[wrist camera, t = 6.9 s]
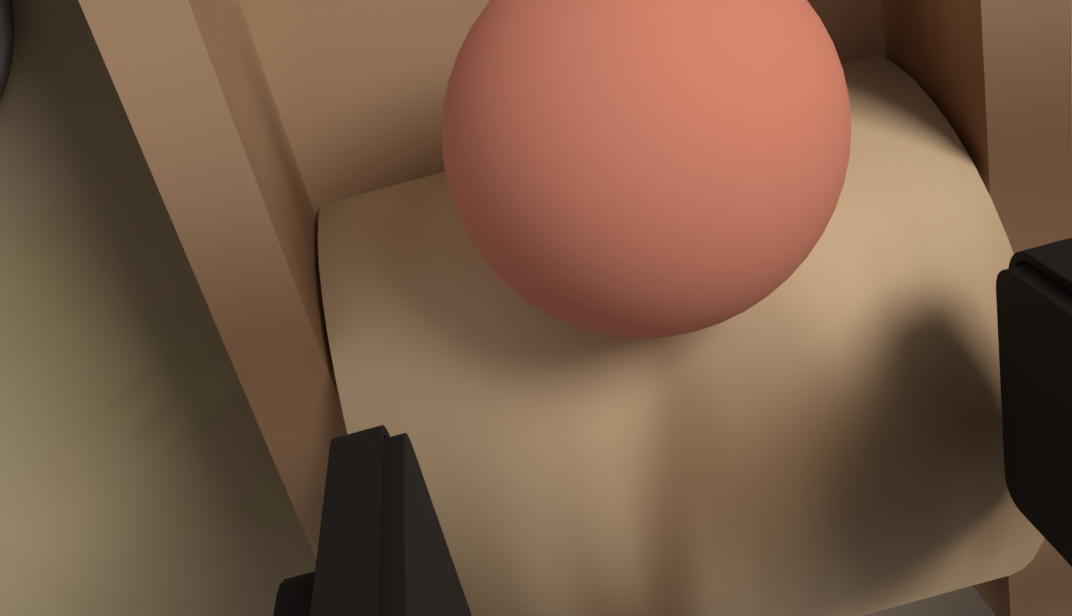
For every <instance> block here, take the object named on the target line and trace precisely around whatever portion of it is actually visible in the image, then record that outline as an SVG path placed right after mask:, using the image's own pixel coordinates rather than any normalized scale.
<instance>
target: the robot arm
mask: <svg viewBox="0 0 1072 616" xmlns="http://www.w3.org/2000/svg"><path fill="white" fill-rule="evenodd" d="M996 301H997V322H998V343H999V364H1000V385H1001V406H1002V427H1003V448H1004V469H1005V480H1006V484H1007V488H1008V491H1009V493H1010V496H1011V498H1012V500H1013V502H1014V503H1015V505H1016V506H1017V508H1018V509H1019V510H1020V512H1021V513H1022V514H1023V515H1024V516H1025V517H1026V518H1027V519H1028V520H1029V521H1030V522H1031V524H1032V525H1033V526H1034V527H1035V528H1036V529H1037V530H1038V531H1039V532H1040V533H1041V534H1042V535H1043V537H1044V538H1045V539H1046V540H1047V541H1048V542H1049V543H1050V544H1051V545H1052V546H1053V547H1054V548H1055V549H1056V551H1057V552H1058V553H1059V554H1060V555H1061V556H1062V557H1063V558H1064V559H1065V560H1066V561H1067V562H1068V564H1069V565H1070V566H1071V567H1072V238H1069V239H1064V240H1060V241H1056V242H1053V243H1049V244H1045V245H1042V246H1038V247H1034V248H1030V249H1027V250H1023V251H1019V252H1016V253H1015V254H1014V255H1013V256H1012V257H1011V260H1010V263H1009V268H1008V269H1005V270H1001V271H1000V272H999V273H998V276H997V279H996ZM273 616H472V615H471V612H470V609H469V606H468V603H467V600H466V597H465V595H464V592H463V589H462V586H461V583H460V580H459V577H458V575H457V572H456V569H455V566H454V563H453V560H452V557H451V554H450V552H449V549H448V546H447V543H446V540H445V537H444V534H443V532H442V529H441V526H440V523H439V520H438V517H437V514H436V512H435V509H434V506H433V503H432V500H431V497H430V494H429V492H428V489H427V486H426V483H425V480H424V477H423V474H422V472H421V469H420V466H419V463H418V460H417V457H416V454H415V451H414V449H413V446H412V443H411V441H410V438H409V436H408V435H407V433H402V434H399V435H395V436H391V437H390V435H389V432H388V431H387V429H386V427H385V426H384V425H380V426H376V427H373V428H369V429H365V430H362V431H358V432H354V433H351V434H347V435H343V436H340V437H336V438H333V439H331V443H330V449H329V458H328V466H327V475H326V483H325V492H324V500H323V509H322V517H321V525H320V534H319V542H318V551H317V559H316V568H315V571H314V572H310V573H307V574H303V575H300V576H296V577H292V578H289V579H285V580H284V581H283V582H282V583H281V584H280V586H279V589H278V593H277V597H276V603H275V609H274V615H273Z"/></svg>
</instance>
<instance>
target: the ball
mask: <svg viewBox="0 0 1072 616" xmlns="http://www.w3.org/2000/svg"><path fill="white" fill-rule="evenodd" d="M441 135H442V149H443V162H444V168H445V173H446V178H447V183H448V188H449V192H450V195H451V198H452V201H453V204H454V206H455V209H456V212H457V215H458V217H459V219H460V221H461V223H462V225H463V227H464V229H465V231H466V233H467V235H468V237H469V239H470V241H471V242H472V244H473V245H474V247H475V248H476V250H477V251H478V253H479V254H480V256H481V257H482V258H483V260H484V261H485V262H486V264H487V265H488V266H489V267H490V268H491V269H492V270H493V271H494V273H495V274H496V275H497V276H498V277H499V278H500V279H501V280H502V281H503V282H504V283H505V284H506V285H507V286H508V287H510V288H511V289H512V290H513V291H514V292H515V293H517V294H518V295H519V296H520V297H521V298H523V299H524V300H526V301H527V302H529V303H530V304H532V305H533V306H535V307H536V308H538V309H539V310H541V311H542V312H544V313H546V314H548V315H550V316H552V317H554V318H556V319H558V320H561V321H563V322H565V323H567V324H570V325H573V326H576V327H579V328H582V329H585V330H588V331H591V332H595V333H600V334H605V335H611V336H616V337H628V338H657V337H671V336H676V335H681V334H686V333H690V332H695V331H698V330H701V329H705V328H708V327H711V326H714V325H717V324H720V323H722V322H724V321H726V320H728V319H730V318H732V317H734V316H736V315H738V314H740V313H743V312H745V311H746V310H748V309H749V308H751V307H752V306H754V305H755V304H757V303H758V302H760V301H761V300H763V299H764V298H766V297H767V296H769V295H770V294H771V293H772V292H773V291H774V290H776V289H777V288H778V287H779V286H780V285H781V284H783V283H784V282H785V281H786V280H787V279H788V278H789V277H790V276H791V275H792V274H793V273H794V272H795V271H796V269H797V268H798V267H799V266H800V265H801V264H802V263H803V262H804V260H805V259H806V258H807V257H808V255H809V254H810V252H811V251H812V250H813V248H814V247H815V245H816V244H817V242H818V241H819V239H820V238H821V236H822V235H823V233H824V231H825V229H826V227H827V225H828V223H829V221H830V219H831V217H832V215H833V213H834V211H835V209H836V206H837V203H838V200H839V197H840V194H841V191H842V188H843V185H844V182H845V177H846V172H847V167H848V162H849V157H850V144H851V115H850V101H849V95H848V90H847V86H846V81H845V76H844V71H843V68H842V65H841V62H840V60H839V57H838V54H837V51H836V49H835V46H834V43H833V41H832V39H831V37H830V36H829V34H828V32H827V30H826V28H825V26H824V24H823V22H822V21H821V19H820V17H819V16H818V15H817V13H816V12H815V11H814V9H813V8H812V6H811V5H810V4H809V2H808V1H807V0H490V1H489V2H488V4H487V5H486V7H485V8H484V10H483V11H482V12H481V14H480V15H479V17H478V18H477V20H476V21H475V22H474V24H473V25H472V27H471V28H470V30H469V32H468V34H467V36H466V38H465V40H464V42H463V44H462V46H461V48H460V50H459V52H458V55H457V58H456V61H455V64H454V67H453V70H452V73H451V75H450V78H449V81H448V86H447V91H446V96H445V101H444V106H443V117H442V133H441Z"/></svg>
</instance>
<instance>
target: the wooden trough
mask: <svg viewBox="0 0 1072 616" xmlns="http://www.w3.org/2000/svg"><path fill="white" fill-rule="evenodd" d="M78 1H79V3H80V6H81V8H82V10H83V13H84V15H85V17H86V20H87V22H88V24H89V27H90V29H91V32H92V34H93V36H94V39H95V41H96V43H97V46H98V48H99V50H100V53H101V55H102V57H103V60H104V62H105V65H106V67H107V69H108V72H109V74H110V76H111V79H112V81H113V83H114V86H115V88H116V91H117V93H118V95H119V98H120V100H121V102H122V105H123V107H124V109H125V112H126V114H127V116H128V119H129V121H130V124H131V126H132V128H133V131H134V133H135V135H136V138H137V140H138V142H139V145H140V147H141V150H142V152H143V154H144V157H145V159H146V161H147V164H148V166H149V168H150V171H151V173H152V175H153V178H154V180H155V183H156V185H157V187H158V190H159V192H160V194H161V197H162V199H163V201H164V204H165V206H166V209H167V211H168V213H169V216H170V218H171V220H172V223H173V225H174V227H175V230H176V232H177V234H178V237H179V239H180V242H181V244H182V246H183V249H184V251H185V253H186V256H187V258H188V260H189V263H190V265H191V268H192V270H193V272H194V275H195V277H196V279H197V282H198V284H199V286H200V289H201V291H202V293H203V296H204V298H205V301H206V303H207V305H208V308H209V310H210V312H211V315H212V317H213V319H214V322H215V324H216V327H217V329H218V331H219V334H220V336H221V338H222V341H223V343H224V345H225V348H226V350H227V352H228V355H229V357H230V360H231V362H232V364H233V367H234V369H235V371H236V374H237V376H238V378H239V381H240V383H241V386H242V388H243V390H244V393H245V395H246V397H247V400H248V402H249V404H250V407H251V409H252V411H253V414H254V416H255V419H256V421H257V423H258V426H259V428H260V430H261V433H262V435H263V437H264V440H265V442H266V445H267V447H268V449H269V452H270V454H271V456H272V459H273V461H274V463H275V466H276V468H277V470H278V473H279V475H280V478H281V480H282V482H283V485H284V487H285V489H286V492H287V494H288V496H289V499H290V501H291V504H292V506H293V508H294V511H295V513H296V515H297V518H298V520H299V522H300V525H301V527H302V529H303V532H304V534H305V537H306V539H307V541H308V544H309V546H310V548H311V551H312V553H313V555H314V558H315V560H316V559H317V551H318V542H319V534H320V525H321V517H322V509H323V500H324V492H325V483H326V475H327V466H328V458H329V449H330V443H331V439H333V438H336V437H340V436H343V435H347V434H351V433H354V432H358V431H362V430H365V429H369V428H373V427H376V426H380V425H384V426H385V427H386V429H387V431H388V432H389V435H390V437H391V436H395V435H399V434H402V433H407V435H408V436H409V438H410V441H411V443H412V446H413V449H414V451H415V454H416V457H417V460H418V463H419V466H420V469H421V472H422V474H423V477H424V480H425V483H426V486H427V489H428V492H429V494H430V497H431V500H432V503H433V506H434V509H435V512H436V514H437V517H438V520H439V523H440V526H441V529H442V532H443V534H444V537H445V540H446V543H447V546H448V549H449V552H450V554H451V557H452V560H453V563H454V566H455V569H456V572H457V575H458V577H459V580H460V583H461V586H462V589H463V592H464V595H465V597H466V600H467V603H468V606H469V609H470V612H471V615H472V616H864V615H867V614H871V613H875V612H878V611H882V610H886V609H889V608H893V607H897V606H900V605H904V604H908V603H911V602H915V601H918V600H922V599H926V598H929V597H933V596H937V595H940V594H944V593H948V592H951V591H955V590H958V589H962V588H966V587H969V586H974V587H975V588H976V590H977V591H978V592H979V594H980V595H981V596H982V597H983V599H984V600H985V601H986V603H987V604H988V605H989V607H990V608H991V609H992V610H993V612H994V613H995V614H996V616H1072V567H1071V566H1070V565H1069V564H1068V562H1067V561H1066V560H1065V559H1064V558H1063V557H1062V556H1061V555H1060V554H1059V553H1058V552H1057V551H1056V549H1055V548H1054V547H1053V546H1052V545H1051V544H1050V543H1049V542H1048V541H1047V540H1046V539H1045V538H1044V537H1043V535H1042V534H1041V533H1040V532H1039V531H1038V530H1037V529H1036V528H1035V527H1034V526H1033V525H1032V524H1031V522H1030V521H1029V520H1028V519H1027V518H1026V517H1025V516H1024V515H1023V514H1022V513H1021V512H1020V510H1019V509H1018V508H1017V506H1016V505H1015V503H1014V502H1013V500H1012V498H1011V496H1010V493H1009V491H1008V488H1007V484H1006V480H1005V469H1004V448H1003V427H1002V406H1001V385H1000V364H999V343H998V322H997V301H996V279H997V276H998V273H999V272H1000V271H1001V270H1005V269H1008V268H1009V263H1010V260H1011V257H1012V256H1013V255H1014V254H1015V253H1016V252H1019V251H1023V250H1027V249H1030V248H1034V247H1038V246H1042V245H1045V244H1049V243H1053V242H1056V241H1060V240H1064V239H1069V238H1072V106H1071V15H1070V0H807V1H808V2H809V4H810V5H811V6H812V8H813V9H814V11H815V12H816V13H817V15H818V16H819V17H820V19H821V21H822V22H823V24H824V26H825V28H826V30H827V32H828V34H829V36H830V37H831V39H832V41H833V43H834V46H835V49H836V51H837V54H838V57H839V60H840V62H841V65H842V68H843V71H844V76H845V81H846V86H847V90H848V95H849V101H850V115H851V144H850V157H849V162H848V167H847V172H846V177H845V182H844V185H843V188H842V191H841V194H840V197H839V200H838V203H837V206H836V209H835V211H834V213H833V215H832V217H831V219H830V221H829V223H828V225H827V227H826V229H825V231H824V233H823V235H822V236H821V238H820V239H819V241H818V242H817V244H816V245H815V247H814V248H813V250H812V251H811V252H810V254H809V255H808V257H807V258H806V259H805V260H804V262H803V263H802V264H801V265H800V266H799V267H798V268H797V269H796V271H795V272H794V273H793V274H792V275H791V276H790V277H789V278H788V279H787V280H786V281H785V282H784V283H783V284H781V285H780V286H779V287H778V288H777V289H776V290H774V291H773V292H772V293H771V294H770V295H769V296H767V297H766V298H764V299H763V300H761V301H760V302H758V303H757V304H755V305H754V306H752V307H751V308H749V309H748V310H746V311H745V312H743V313H740V314H738V315H736V316H734V317H732V318H730V319H728V320H726V321H724V322H722V323H720V324H717V325H714V326H711V327H708V328H705V329H701V330H698V331H695V332H690V333H686V334H681V335H676V336H671V337H657V338H628V337H616V336H611V335H605V334H600V333H595V332H591V331H588V330H585V329H582V328H579V327H576V326H573V325H570V324H567V323H565V322H563V321H561V320H558V319H556V318H554V317H552V316H550V315H548V314H546V313H544V312H542V311H541V310H539V309H538V308H536V307H535V306H533V305H532V304H530V303H529V302H527V301H526V300H524V299H523V298H521V297H520V296H519V295H518V294H517V293H515V292H514V291H513V290H512V289H511V288H510V287H508V286H507V285H506V284H505V283H504V282H503V281H502V280H501V279H500V278H499V277H498V276H497V275H496V274H495V273H494V271H493V270H492V269H491V268H490V267H489V266H488V265H487V264H486V262H485V261H484V260H483V258H482V257H481V256H480V254H479V253H478V251H477V250H476V248H475V247H474V245H473V244H472V242H471V241H470V239H469V237H468V235H467V233H466V231H465V229H464V227H463V225H462V223H461V221H460V219H459V217H458V215H457V212H456V209H455V206H454V204H453V201H452V198H451V195H450V192H449V188H448V183H447V178H446V173H445V168H444V162H443V149H442V135H441V133H442V117H443V106H444V101H445V96H446V91H447V86H448V81H449V78H450V75H451V73H452V70H453V67H454V64H455V61H456V58H457V55H458V52H459V50H460V48H461V46H462V44H463V42H464V40H465V38H466V36H467V34H468V32H469V30H470V28H471V27H472V25H473V24H474V22H475V21H476V20H477V18H478V17H479V15H480V14H481V12H482V11H483V10H484V8H485V7H486V5H487V4H488V2H489V1H490V0H78Z"/></svg>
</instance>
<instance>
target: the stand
mask: <svg viewBox="0 0 1072 616" xmlns="http://www.w3.org/2000/svg"><path fill="white" fill-rule="evenodd" d="M12 52H13V19H12V10H11V1H10V0H0V96H1V94H2V92H3V89H4V86H5V83H6V80H7V77H8V74H9V69H10V63H11V57H12Z"/></svg>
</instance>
